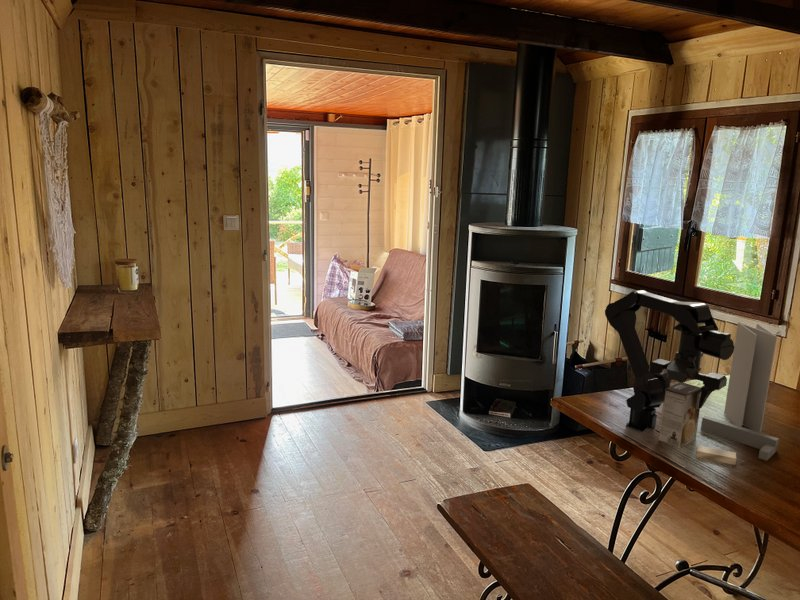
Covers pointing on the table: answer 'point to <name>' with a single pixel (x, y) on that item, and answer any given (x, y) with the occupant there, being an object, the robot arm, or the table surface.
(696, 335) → the robot arm
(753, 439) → the bracket
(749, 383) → the brochure
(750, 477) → the table surface
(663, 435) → the coffee box
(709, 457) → the offcut upper
